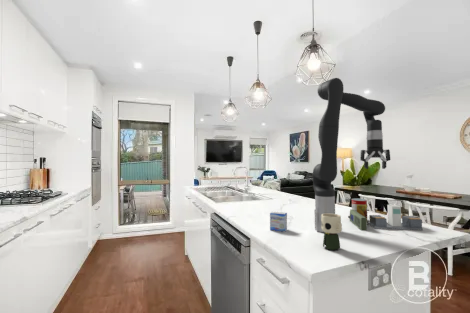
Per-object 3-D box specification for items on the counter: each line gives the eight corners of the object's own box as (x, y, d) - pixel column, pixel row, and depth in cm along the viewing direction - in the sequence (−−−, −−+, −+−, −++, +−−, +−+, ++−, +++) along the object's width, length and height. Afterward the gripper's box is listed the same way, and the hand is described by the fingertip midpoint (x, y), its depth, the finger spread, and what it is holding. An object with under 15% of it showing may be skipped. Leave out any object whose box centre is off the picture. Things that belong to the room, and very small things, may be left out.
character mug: (315, 244, 96) (314, 213, 96) (329, 242, 98) (328, 211, 98) (333, 254, 85) (333, 219, 86) (349, 252, 87) (348, 217, 88)
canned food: (370, 221, 133) (370, 200, 133) (358, 222, 131) (358, 200, 131) (360, 218, 140) (359, 198, 141) (349, 219, 138) (348, 198, 139)
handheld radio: (360, 230, 115) (346, 218, 140) (367, 231, 115) (351, 219, 139) (360, 217, 115) (346, 207, 140) (367, 217, 115) (352, 208, 139)
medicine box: (269, 230, 117) (269, 213, 117) (271, 228, 121) (271, 211, 121) (285, 232, 114) (285, 214, 114) (287, 229, 118) (286, 212, 118)
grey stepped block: (374, 228, 118) (374, 218, 118) (367, 223, 127) (367, 214, 127) (422, 230, 114) (422, 219, 115) (412, 225, 123) (411, 215, 124)
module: (392, 226, 118) (392, 206, 119) (387, 223, 123) (387, 204, 124) (401, 226, 118) (401, 206, 118) (396, 223, 123) (395, 204, 123)
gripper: (363, 138, 125) (364, 169, 125) (392, 138, 123) (393, 168, 123) (358, 140, 133) (358, 168, 132) (385, 139, 130) (386, 168, 130)
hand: (375, 168), depth 127 cm, fingers open, 8 cm apart
